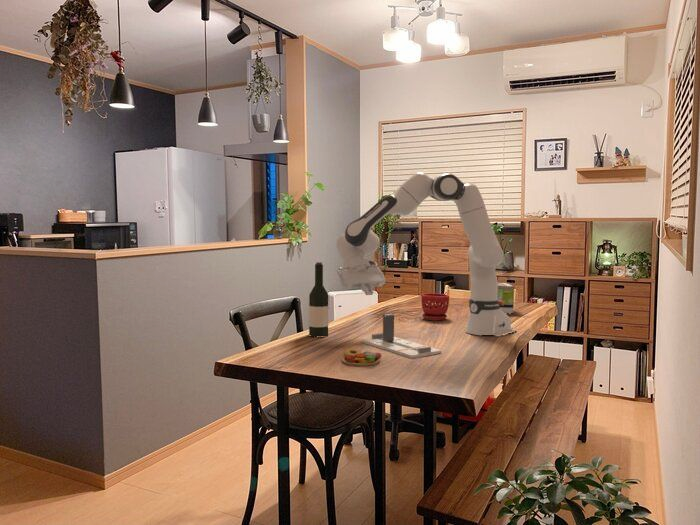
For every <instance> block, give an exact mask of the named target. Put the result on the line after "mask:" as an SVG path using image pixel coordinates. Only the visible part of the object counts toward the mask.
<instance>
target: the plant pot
mask: <svg viewBox="0 0 700 525" xmlns="http://www.w3.org/2000/svg"><path fill="white" fill-rule="evenodd" d="M449 306H450V295H449V294H446V293H433V292H432V293H422V294H421V308H422V311H423V313H422V317H423V319H425V320H430V321H444V320H445V319H446V318H448V316H447V312H448V310H449Z"/></svg>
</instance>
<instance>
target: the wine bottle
mask: <svg viewBox="0 0 700 525" xmlns="http://www.w3.org/2000/svg"><path fill="white" fill-rule="evenodd" d="M314 275H315V276H314V286H313V288H312V289H311V291H310V292H309V295H308V296H309V303H308V306H309V307H308V308H309V309H308V314H309V315H308V316H309V317H308V318H309V319H308V324H309V325H308V332H309V333H308V336H309V335H311V336H315V337H317V336H327V337H329V293H328V292H327V290H326V288H325V286H324V278H323V277H324V264H323V263H322V262H320V261H319V262H315V264H314ZM315 337H314V338H315Z"/></svg>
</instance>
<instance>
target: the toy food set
mask: <svg viewBox="0 0 700 525" xmlns="http://www.w3.org/2000/svg"><path fill="white" fill-rule="evenodd" d="M342 353H343V354H342V355H343V357H341V360H342V361H343V363H344V364H346V365H348V366H353V367H370V366H375V365H377V364H378V363H379V362H380V361H381V358H382V354H381V353H380V352H373V351H372V352H371V351H363V352H362V351H361V350H359V349H356V348H346V349H345V350H343V352H342Z"/></svg>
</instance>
